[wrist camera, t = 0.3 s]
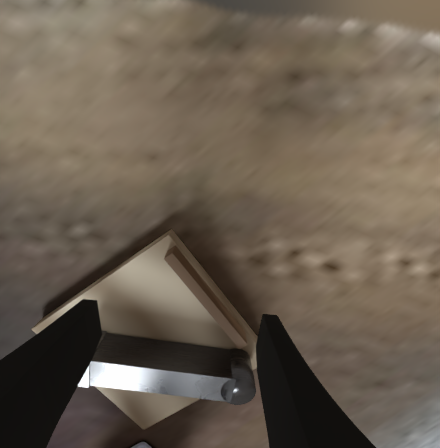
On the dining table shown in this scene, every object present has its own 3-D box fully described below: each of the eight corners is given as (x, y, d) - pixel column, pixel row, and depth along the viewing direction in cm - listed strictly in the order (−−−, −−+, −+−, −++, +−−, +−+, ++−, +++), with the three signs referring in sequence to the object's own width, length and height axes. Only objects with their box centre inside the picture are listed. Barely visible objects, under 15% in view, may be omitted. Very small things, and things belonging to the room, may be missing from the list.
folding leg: (253, 349, 23) (259, 381, 20) (247, 373, 24) (251, 407, 20) (93, 328, 22) (72, 357, 19) (91, 354, 23) (72, 386, 20)
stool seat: (147, 414, 27) (139, 446, 24) (42, 318, 23) (18, 342, 20) (266, 348, 25) (273, 374, 22) (171, 228, 21) (164, 241, 18)
